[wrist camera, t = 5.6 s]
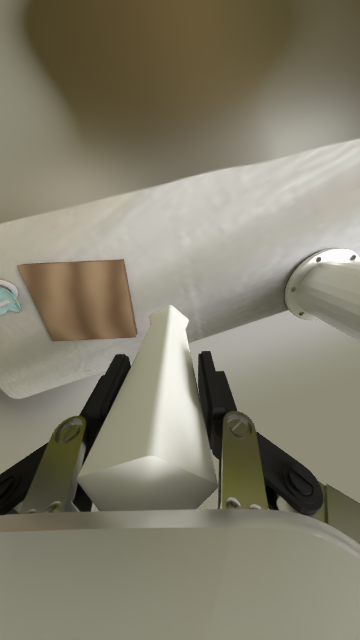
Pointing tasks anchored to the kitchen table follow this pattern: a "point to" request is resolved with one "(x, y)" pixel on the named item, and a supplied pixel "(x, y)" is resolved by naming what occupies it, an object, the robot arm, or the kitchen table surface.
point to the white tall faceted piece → (153, 431)
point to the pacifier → (8, 298)
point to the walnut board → (82, 299)
